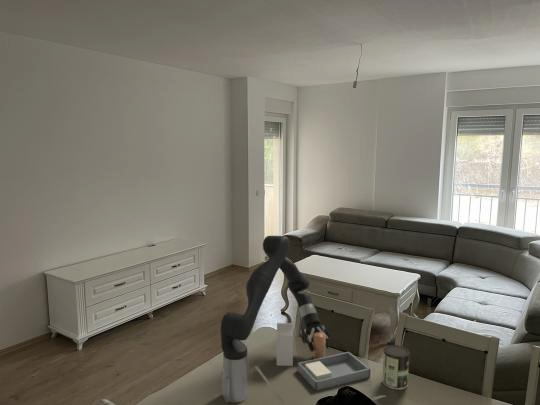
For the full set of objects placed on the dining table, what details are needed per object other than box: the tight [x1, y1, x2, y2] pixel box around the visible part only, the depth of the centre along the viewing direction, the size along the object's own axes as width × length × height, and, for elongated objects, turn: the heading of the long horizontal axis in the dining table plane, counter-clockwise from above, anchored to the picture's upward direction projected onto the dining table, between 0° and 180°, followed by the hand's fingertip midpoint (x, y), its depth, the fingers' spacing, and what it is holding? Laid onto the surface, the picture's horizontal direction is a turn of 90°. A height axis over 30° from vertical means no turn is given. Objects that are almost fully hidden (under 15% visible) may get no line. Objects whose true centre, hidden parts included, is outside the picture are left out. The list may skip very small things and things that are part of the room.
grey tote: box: [297, 351, 371, 392], centre depth 175 cm, size 26×16×4 cm, turn 113°
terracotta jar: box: [312, 332, 326, 360], centre depth 188 cm, size 6×6×12 cm
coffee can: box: [382, 344, 411, 390], centre depth 170 cm, size 10×10×14 cm
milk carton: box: [276, 322, 294, 367], centre depth 184 cm, size 7×7×19 cm
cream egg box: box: [305, 361, 332, 381], centre depth 172 cm, size 7×10×4 cm
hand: (320, 349), depth 186 cm, fingers open, 7 cm apart
